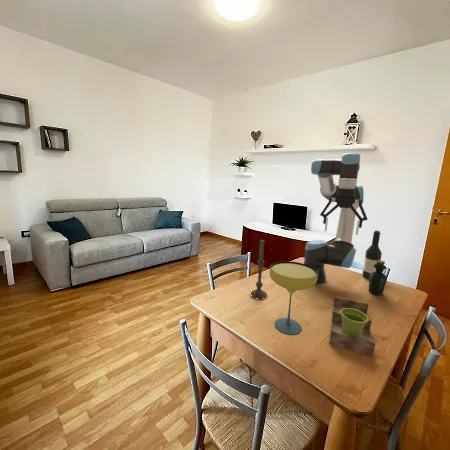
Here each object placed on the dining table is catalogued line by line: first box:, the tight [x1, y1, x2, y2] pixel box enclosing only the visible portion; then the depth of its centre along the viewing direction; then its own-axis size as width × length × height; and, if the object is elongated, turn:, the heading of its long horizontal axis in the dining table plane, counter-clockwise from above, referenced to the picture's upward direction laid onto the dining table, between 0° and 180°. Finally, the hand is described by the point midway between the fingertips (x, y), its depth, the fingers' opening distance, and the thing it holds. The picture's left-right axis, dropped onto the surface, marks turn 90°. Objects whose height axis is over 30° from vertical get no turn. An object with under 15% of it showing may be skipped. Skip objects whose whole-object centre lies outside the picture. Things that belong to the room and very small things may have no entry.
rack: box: [329, 295, 376, 357], centre depth 99 cm, size 14×30×5 cm, turn 154°
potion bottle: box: [368, 259, 388, 296], centre depth 129 cm, size 8×8×18 cm
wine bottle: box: [362, 230, 383, 280], centre depth 149 cm, size 8×8×30 cm
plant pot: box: [341, 308, 370, 338], centre depth 92 cm, size 9×9×9 cm
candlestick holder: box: [250, 239, 268, 300], centre depth 121 cm, size 9×9×30 cm
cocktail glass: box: [269, 260, 318, 336], centre depth 97 cm, size 18×18×25 cm
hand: (340, 232), depth 116 cm, fingers open, 13 cm apart
